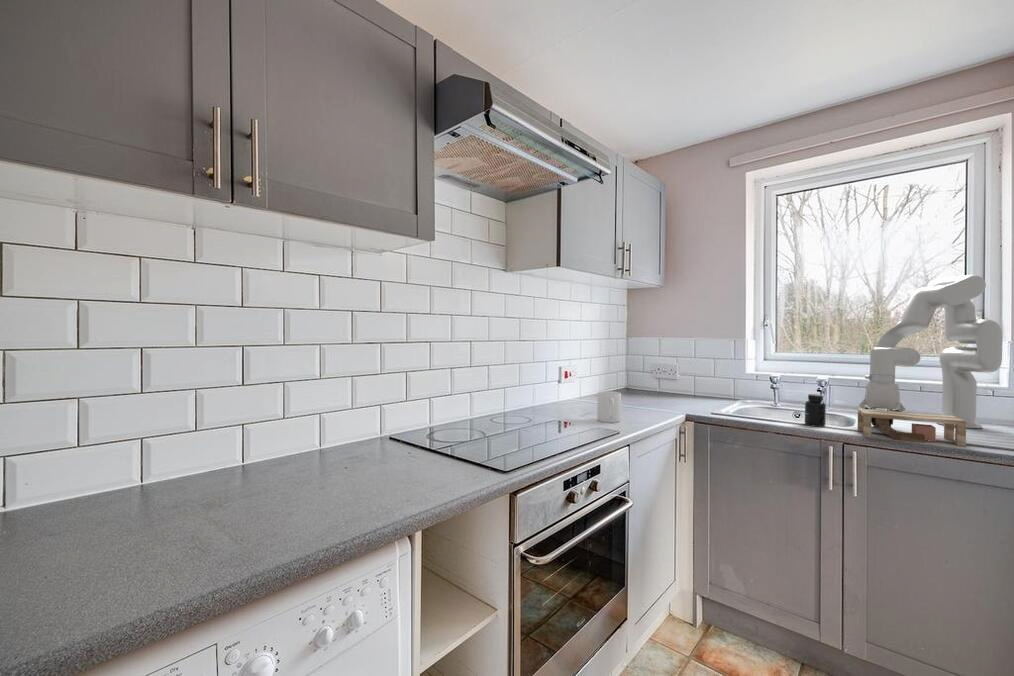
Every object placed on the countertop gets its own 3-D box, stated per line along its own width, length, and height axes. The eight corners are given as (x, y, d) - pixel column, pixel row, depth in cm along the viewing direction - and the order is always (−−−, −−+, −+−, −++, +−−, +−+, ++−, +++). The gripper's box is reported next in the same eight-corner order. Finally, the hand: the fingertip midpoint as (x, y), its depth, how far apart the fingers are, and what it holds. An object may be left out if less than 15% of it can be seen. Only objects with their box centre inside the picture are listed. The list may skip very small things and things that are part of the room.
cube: (911, 437, 154) (911, 423, 154) (930, 439, 152) (930, 424, 152) (915, 440, 150) (915, 425, 150) (935, 442, 147) (935, 427, 147)
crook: (873, 425, 173) (873, 410, 173) (903, 428, 168) (903, 413, 168) (889, 439, 151) (889, 421, 151) (924, 442, 146) (924, 424, 146)
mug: (614, 418, 185) (614, 390, 185) (628, 424, 173) (628, 394, 173) (593, 419, 183) (593, 391, 182) (606, 425, 171) (606, 395, 171)
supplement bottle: (800, 423, 176) (801, 394, 176) (811, 422, 179) (811, 393, 179) (818, 427, 170) (819, 396, 169) (829, 425, 172) (829, 395, 172)
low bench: (857, 430, 165) (857, 408, 165) (951, 438, 152) (952, 415, 152) (863, 436, 155) (864, 413, 154) (965, 446, 141) (966, 421, 141)
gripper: (856, 378, 171) (855, 424, 171) (913, 381, 163) (912, 430, 163) (853, 377, 178) (852, 421, 178) (907, 379, 169) (906, 426, 169)
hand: (881, 425), depth 170 cm, fingers closed on crook, 4 cm apart
